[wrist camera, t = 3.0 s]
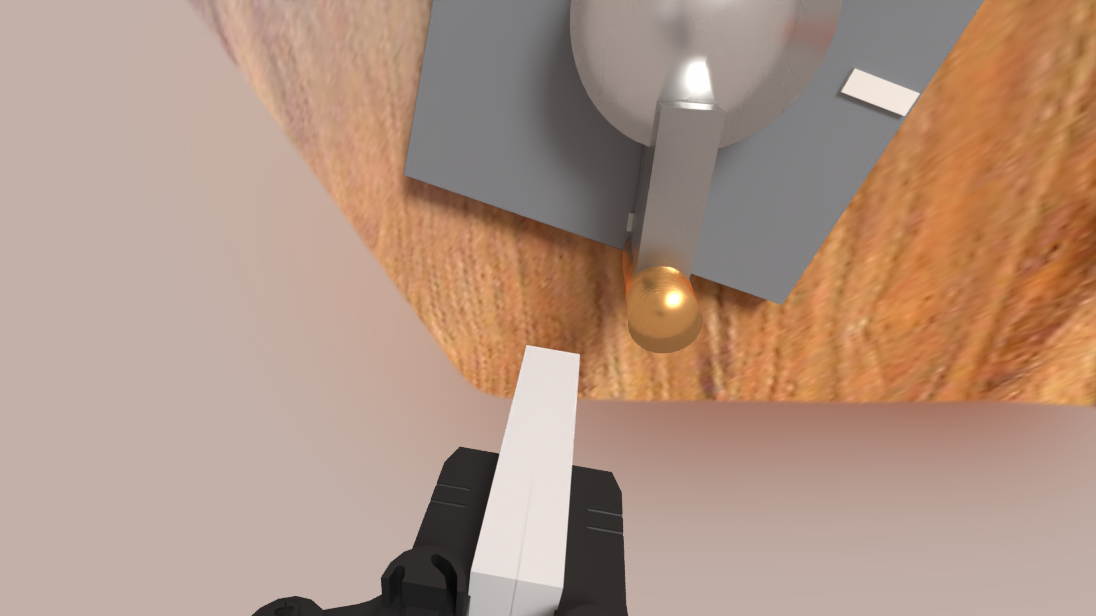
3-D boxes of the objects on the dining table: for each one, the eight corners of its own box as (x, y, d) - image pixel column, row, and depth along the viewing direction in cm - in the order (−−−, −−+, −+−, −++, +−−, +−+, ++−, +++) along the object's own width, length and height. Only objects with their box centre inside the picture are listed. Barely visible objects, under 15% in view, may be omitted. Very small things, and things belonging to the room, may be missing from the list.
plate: (413, 168, 27) (402, 175, 26) (525, -460, 16) (517, -508, 15) (773, 292, 29) (782, 306, 27) (1093, -205, 18) (1138, -226, 16)
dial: (583, -138, 19) (574, -224, 13) (849, -128, 18) (980, -213, 12) (556, 271, 28) (543, 341, 21) (736, 286, 27) (778, 364, 21)
